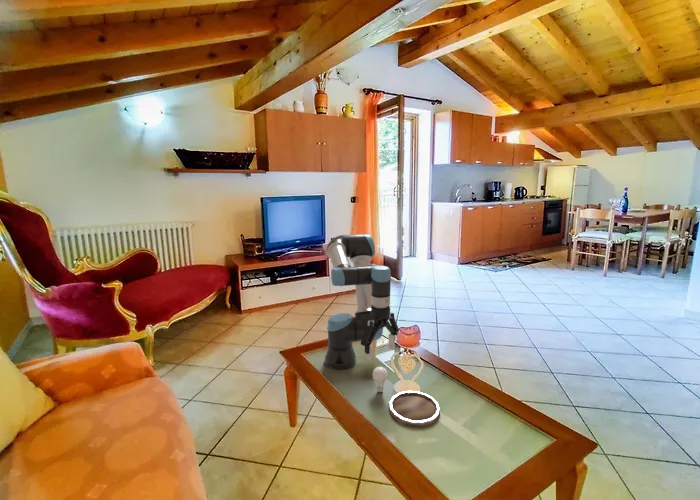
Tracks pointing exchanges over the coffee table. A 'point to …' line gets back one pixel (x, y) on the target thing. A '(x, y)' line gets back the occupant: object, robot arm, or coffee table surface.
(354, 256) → the robot arm
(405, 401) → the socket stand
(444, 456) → the coffee table surface
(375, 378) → the lightbulb
